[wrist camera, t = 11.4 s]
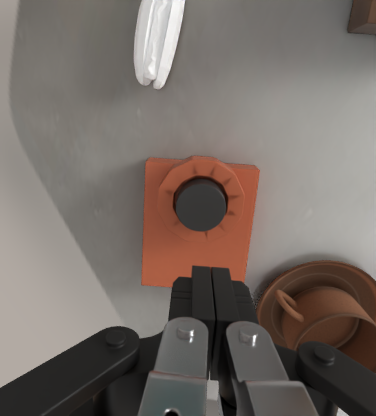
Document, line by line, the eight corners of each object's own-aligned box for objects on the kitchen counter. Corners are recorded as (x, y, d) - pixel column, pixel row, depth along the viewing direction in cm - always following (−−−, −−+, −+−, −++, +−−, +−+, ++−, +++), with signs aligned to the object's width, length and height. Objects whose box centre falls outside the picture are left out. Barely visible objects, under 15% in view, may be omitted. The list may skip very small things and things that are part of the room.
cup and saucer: (232, 338, 33) (241, 389, 27) (282, 235, 30) (304, 267, 24) (340, 372, 34) (370, 427, 28) (400, 275, 31) (449, 316, 25)
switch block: (149, 148, 27) (142, 155, 24) (256, 156, 28) (266, 164, 24) (144, 273, 31) (137, 296, 27) (239, 280, 31) (245, 304, 27)
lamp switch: (178, 176, 24) (177, 182, 23) (226, 180, 24) (228, 185, 23) (175, 221, 26) (174, 230, 24) (221, 225, 26) (223, 233, 24)
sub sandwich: (192, -22, 24) (192, -38, 21) (169, 92, 26) (166, 91, 23) (151, -33, 24) (145, -51, 21) (130, 82, 26) (123, 80, 23)
